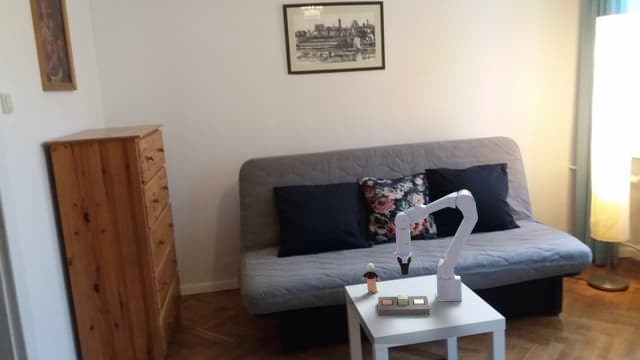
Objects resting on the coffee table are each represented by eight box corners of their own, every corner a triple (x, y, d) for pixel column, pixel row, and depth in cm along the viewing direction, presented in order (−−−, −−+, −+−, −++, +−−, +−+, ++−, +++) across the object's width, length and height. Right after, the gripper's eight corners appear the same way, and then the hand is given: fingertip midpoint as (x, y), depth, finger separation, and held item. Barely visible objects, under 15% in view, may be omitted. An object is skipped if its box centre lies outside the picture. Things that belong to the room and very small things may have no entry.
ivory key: (423, 306, 196) (423, 299, 196) (424, 310, 193) (424, 303, 192) (414, 306, 197) (413, 299, 196) (414, 310, 193) (414, 303, 193)
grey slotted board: (427, 301, 200) (426, 295, 200) (429, 315, 188) (429, 308, 188) (378, 302, 203) (378, 296, 202) (378, 315, 191) (378, 309, 190)
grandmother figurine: (380, 290, 215) (379, 261, 213) (380, 293, 211) (379, 264, 209) (362, 290, 216) (360, 262, 214) (362, 294, 212) (360, 265, 210)
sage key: (407, 301, 197) (407, 295, 196) (408, 305, 193) (407, 298, 193) (398, 302, 197) (397, 295, 197) (398, 305, 194) (398, 299, 193)
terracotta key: (392, 306, 198) (391, 299, 197) (392, 310, 194) (392, 303, 194) (383, 306, 198) (382, 300, 198) (383, 310, 195) (382, 303, 194)
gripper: (392, 237, 211) (394, 268, 213) (393, 247, 197) (395, 281, 199) (410, 236, 210) (411, 268, 212) (412, 247, 196) (413, 280, 198)
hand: (404, 274), depth 205 cm, fingers closed
